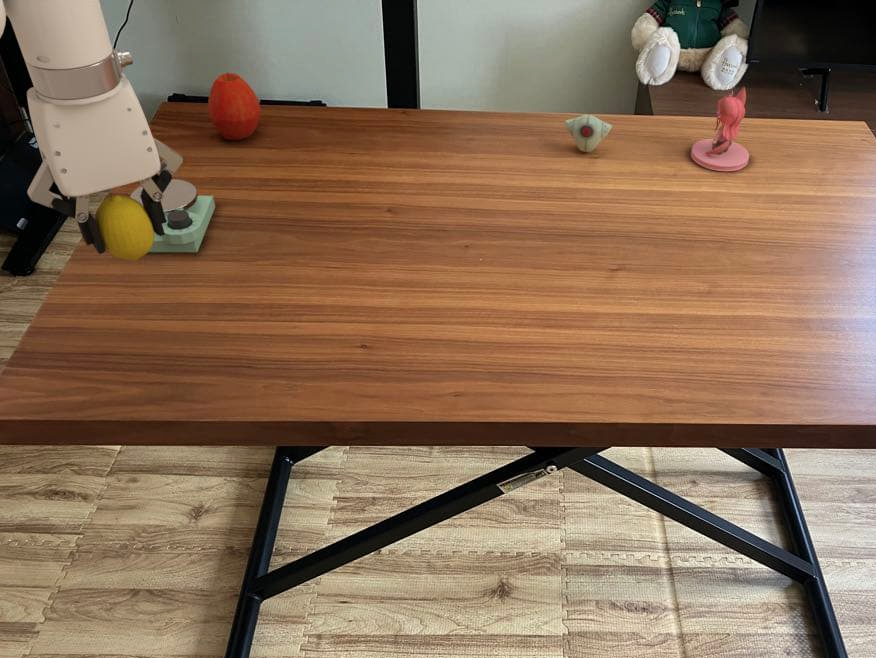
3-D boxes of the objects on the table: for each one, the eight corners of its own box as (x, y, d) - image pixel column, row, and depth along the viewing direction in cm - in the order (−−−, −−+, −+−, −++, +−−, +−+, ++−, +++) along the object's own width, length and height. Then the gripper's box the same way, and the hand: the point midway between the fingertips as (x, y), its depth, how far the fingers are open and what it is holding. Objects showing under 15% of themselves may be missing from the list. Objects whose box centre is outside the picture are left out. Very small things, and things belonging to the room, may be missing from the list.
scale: (202, 255, 121) (196, 234, 118) (121, 255, 120) (114, 233, 118) (221, 206, 130) (216, 186, 128) (146, 206, 129) (140, 185, 127)
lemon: (165, 245, 98) (147, 181, 93) (157, 273, 94) (137, 208, 89) (113, 247, 97) (91, 182, 92) (103, 275, 93) (80, 210, 88)
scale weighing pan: (145, 223, 120) (143, 218, 119) (121, 195, 125) (120, 190, 124) (208, 204, 124) (206, 199, 123) (183, 177, 129) (181, 172, 128)
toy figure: (713, 138, 153) (727, 71, 144) (759, 159, 148) (775, 91, 140) (679, 155, 148) (690, 87, 139) (724, 178, 143) (739, 108, 135)
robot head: (610, 149, 148) (614, 111, 144) (608, 161, 145) (612, 123, 141) (563, 144, 149) (566, 106, 144) (560, 156, 146) (563, 117, 141)
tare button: (188, 230, 119) (185, 221, 118) (167, 230, 119) (164, 220, 118) (193, 219, 122) (190, 210, 120) (172, 219, 121) (169, 210, 120)
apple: (267, 144, 144) (255, 81, 137) (215, 149, 142) (201, 86, 135) (262, 122, 150) (251, 60, 143) (212, 127, 148) (198, 64, 140)
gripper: (152, 42, 88) (192, 201, 100) (-36, 78, 79) (33, 246, 92) (180, 68, 83) (219, 231, 96) (-15, 109, 75) (54, 281, 88)
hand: (127, 237), depth 94 cm, fingers closed on lemon, 5 cm apart
